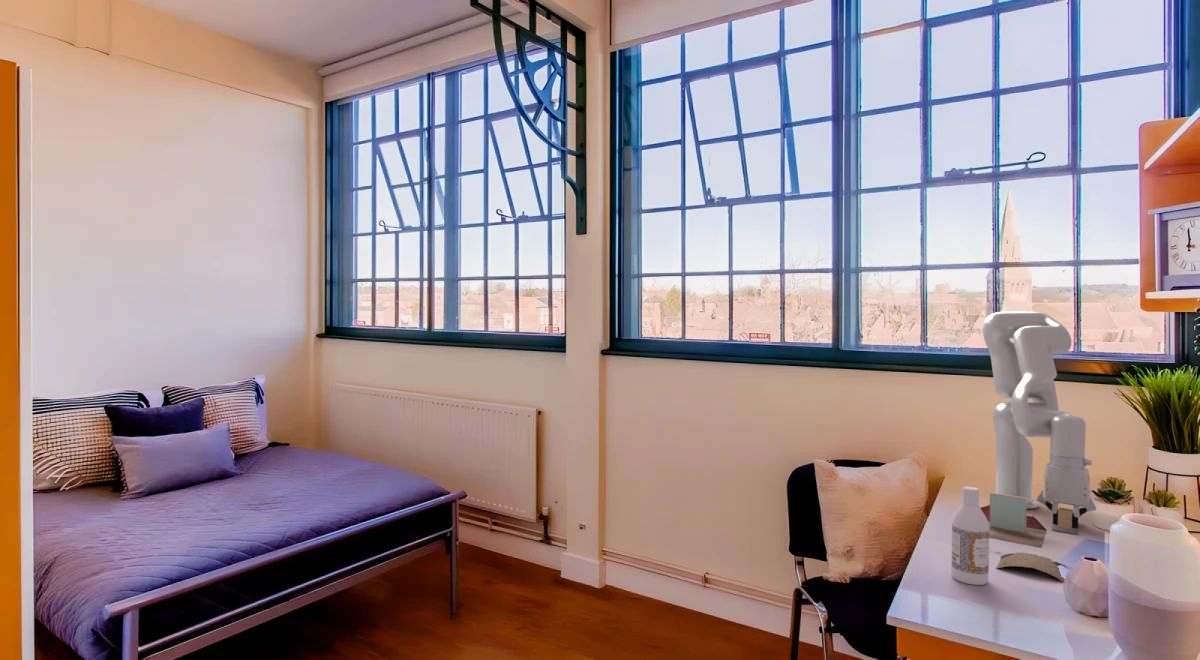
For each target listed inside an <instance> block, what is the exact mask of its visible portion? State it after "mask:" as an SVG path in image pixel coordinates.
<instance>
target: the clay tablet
mask: <svg viewBox="0 0 1200 660" xmlns="http://www.w3.org/2000/svg"><path fill="white" fill-rule="evenodd" d="M1059 565H1062V564H1061V563H1059V562H1058V561H1053V559H1051V558H1048V557H1045V556H1041V555H1038V554H1037V553H1029V552H1015V553H1009V554H1004V555H1001V556H1000V559H999V562H998V564H997V566H996V569H1000V568H1004V567H1021V568H1022V567H1023V568H1032V569H1035V570H1038V571H1041V572H1043V573H1047V574H1048V575H1051V576H1052V577H1055V578H1056V579H1058V580H1059V581H1060V582H1062V583H1065V582H1064V578H1063V577H1061V574H1060V571H1059V568H1058V567H1057V566H1059Z"/></svg>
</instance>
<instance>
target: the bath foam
mask: <svg viewBox="0 0 1200 660" xmlns="http://www.w3.org/2000/svg"><path fill="white" fill-rule="evenodd" d="M962 488H963V489H962V502H963V503H961V505H960V506H959V508H958V509H957V510H956V511H955V513H954V515H953V518H952V521H951V563H950V564H951V576H952V578H954V579H955V580H956V581H958V582H960V583H963V584H968V585H970V586H971V585H972V586H984V585H987V584H988V582H989V571H990V569H989V566H990V565H989V563H990V560H989V559H990V538H989V525H988V521H989V520H988V519H987V517H986V514H985V513H984V511H982V509H981V507H980V505H979V495H980V493H979V492H980V490H979V488H977V487H975V486H963V487H962Z"/></svg>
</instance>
